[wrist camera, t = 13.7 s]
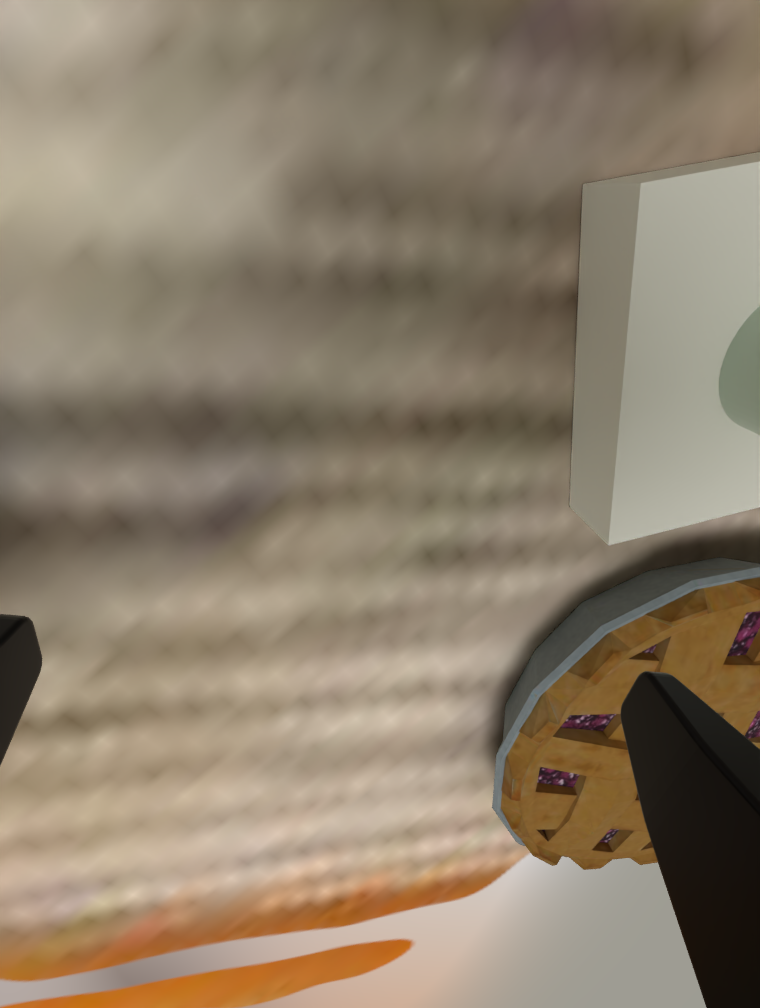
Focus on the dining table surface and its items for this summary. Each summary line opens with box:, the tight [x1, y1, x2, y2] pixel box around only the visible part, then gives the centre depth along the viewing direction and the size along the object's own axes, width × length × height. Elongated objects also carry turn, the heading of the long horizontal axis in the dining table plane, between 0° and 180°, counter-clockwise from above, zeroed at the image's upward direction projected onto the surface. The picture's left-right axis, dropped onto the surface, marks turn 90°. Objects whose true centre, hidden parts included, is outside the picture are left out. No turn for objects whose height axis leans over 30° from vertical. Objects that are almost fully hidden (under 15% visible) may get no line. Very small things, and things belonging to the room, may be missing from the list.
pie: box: [492, 557, 760, 870], centre depth 29 cm, size 22×22×5 cm
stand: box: [569, 152, 760, 546], centre depth 20 cm, size 12×12×3 cm
